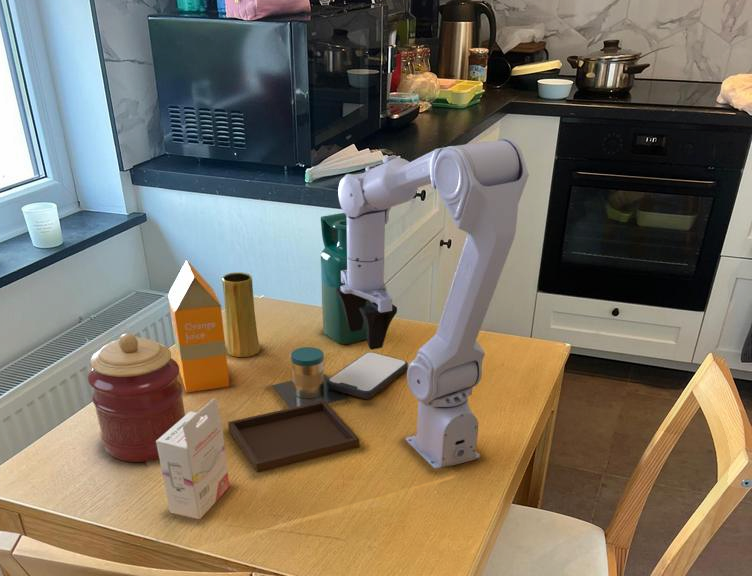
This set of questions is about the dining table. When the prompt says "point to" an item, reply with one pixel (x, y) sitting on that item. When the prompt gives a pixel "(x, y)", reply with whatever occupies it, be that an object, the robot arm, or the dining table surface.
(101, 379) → the kitchen canister
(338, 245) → the green glass bottle
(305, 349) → the teal lidded glass jar
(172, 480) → the ink cartridge box
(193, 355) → the orange juice
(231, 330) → the vase
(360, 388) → the phone case
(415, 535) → the dining table surface
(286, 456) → the tray
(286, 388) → the slate coaster
